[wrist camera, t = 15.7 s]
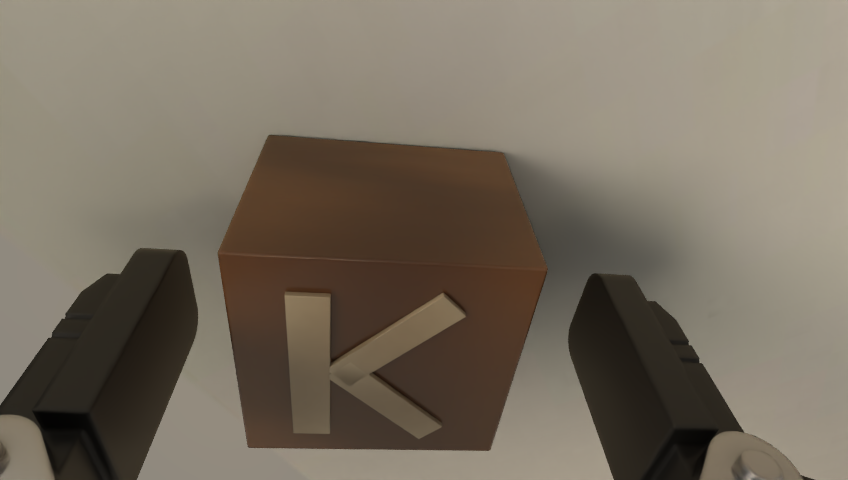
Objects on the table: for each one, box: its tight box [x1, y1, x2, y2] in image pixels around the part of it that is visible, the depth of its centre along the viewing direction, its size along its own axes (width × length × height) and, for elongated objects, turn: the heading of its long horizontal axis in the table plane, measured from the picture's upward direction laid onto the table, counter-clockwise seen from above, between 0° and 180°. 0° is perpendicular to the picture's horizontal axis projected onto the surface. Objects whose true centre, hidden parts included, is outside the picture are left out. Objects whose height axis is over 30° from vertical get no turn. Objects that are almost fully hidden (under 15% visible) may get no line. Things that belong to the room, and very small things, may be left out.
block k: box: [218, 135, 548, 451], centre depth 11 cm, size 5×5×4 cm
